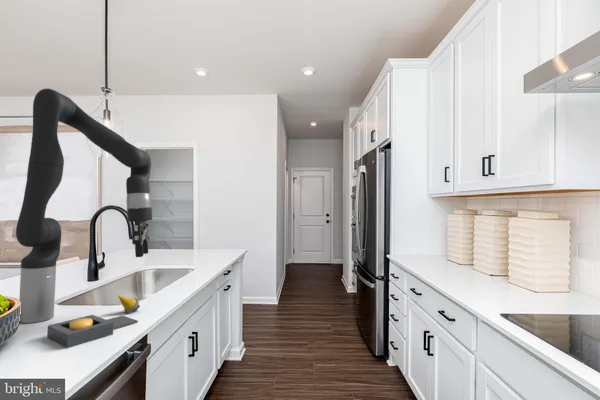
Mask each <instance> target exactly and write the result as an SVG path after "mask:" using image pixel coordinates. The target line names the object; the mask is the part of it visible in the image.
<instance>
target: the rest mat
mask: <svg viewBox="0 0 600 400" xmlns="http://www.w3.org/2000/svg"><path fill="white" fill-rule="evenodd" d="M106 320H108V321H111V322H113V331H114V330H117V329H120V328H124V327H127V326H131V325H134V324H137V323H139V320H136V319H134V318H131V317H128V316H125V315H120V316H115V317H112V318H107V319H106Z"/></svg>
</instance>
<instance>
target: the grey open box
mask: <svg viewBox="0 0 600 400" xmlns="http://www.w3.org/2000/svg"><path fill="white" fill-rule="evenodd" d="M83 318H90V319H93V324H92V326H89V327H85V328H82V329H78V330H74V331H72V330H69V325H70V322H71V321H73V320H77V319H83ZM46 334H47V335H46V338H47V339H49V340H50V341H52V342H55V343H56V344H58V345H59V346H62V347H64V348H66V349H69V348H73V347H76V346H79V345H82V344H86V343H88V342H89V343H90V342H92V341H95V340H99V339H102V338H105V337H108V336H112V335H114V330H113V322H111V321H108V320H107V319H106V318H102V317H100V316H97V315H95V314H90V315H85V316H82V317H77V318H73V319H70V320H69V319H68V320H65V321H61V322H56V323H53V324H49V325H47V333H46Z"/></svg>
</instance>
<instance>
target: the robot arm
mask: <svg viewBox="0 0 600 400" xmlns="http://www.w3.org/2000/svg"><path fill="white" fill-rule="evenodd" d="M32 103H33V104H32V137H31V143H30V153H29V159H28V165H27V172H26V173H27V174H26V183H25V187H24V188H25V189H24V195H23V199H22V200H23V201H22V205H21V208H20V211H19V215H18V219H17V224H16V228H15V229H16V230H15V238H16V240H17V242H18V243H19V244H20V245H21V246H22V247H25V248H32V249H31V250H30V252H29V253H28V254H27V255H25V256H24V257H23V258H22V259H21V260H20V281H19V282H20V283H19V300H20V302H21V314H20V322H19V323H22V324H31V323H32V324H33V323H40V322H44V321H47V320H50V319H53V318H54V315H55V301H56V297H55V296H56V280H57V279H56V277H57V276H56V274H57V273H56V271H57V261H58V259H59V256H60V252H61V242H62V227H61V225H60V223H59V221H57V219H55V218H52V217H46V211H47V206H48V203H49V202H50V199H51V198H52V197H53V195H54V194H55V193H56V190H58V188H59V186H60V184H61V183H62V179H63V175H64V174H63V173H64V167H65V159H64V154H63V151H62V148H61V144H60V141H59V137H58V128H59V126H58V125H59V123H62V124H65V125H66V126H69V127H70V128H71V127H72V128H73V129H75V130H77V131H78V132H81V134H83V135H84V136H85V137H86V138H87V139H88V140H89V141H90V142H91V143H92V144H94V145H95V146H97V147H99V148H100V149H101V150H103V151H104V152H106V153H108V154H109V155H111V156H112V157H113V158H115V160H117V161H118V162H120V163H121V164H122V165H124V166H126V167H127V168H130V176H129V177H127V179H126V181H125V182H126V183H125V184H126V185H125V186H126V187H125V188H126V189H125V190H126V217H127V218H126V219H127V222H128V223H133V222H134V224H133V225H131V237H132V238H131V240H132V241H131V243H132V245H133V246H134V252H135V254H134V255H135V257H136V258H142V257H144V255H146V254H148V253H149V242H150V232H149V223H147V222H149V221H152V220H153V212H152V211H153V209H152V208H153V207H152V197H151V193H150V192H151V190H150V188H151V187H150V176H151V170H152V160H151V159H152V158H151V156H150V154H149V153H148V152H147V151H146V150H144V149H141V148H139V147H136V146H135V145H133V144H131V143H130V142H128V141H127V140H126V139H125V138H124V137H123V136H122V135H120V134H119V133H117V132H116V131H113V130H112V129H111V128H109V127H108V126H106V125H104V124H102V123H100V121H97V120H96V119H94V118H93V116H91V115H89V114H88V113H86V112H85V111H84V110H83V109H82V108H81V107H80V106H79V105H78V104H77V103H75V102H74V101H73V100H72V99H71V98H70V97H69V96H67V95H65V94H62V93H61V92H58V91H57V90H55V89H53V88H43V89H40V90H39V91H38V92H37V93H36V94H35V97H34V99H33V102H32ZM19 300H18V301H19Z"/></svg>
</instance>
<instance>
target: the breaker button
mask: <svg viewBox="0 0 600 400" xmlns="http://www.w3.org/2000/svg"><path fill="white" fill-rule="evenodd" d="M76 319H77V318H76ZM72 320H73V319H72ZM92 324H93V319H90V318H83V319H77V320H73V321H71V322H70V325H69V330H72V331H74V330H78V329H82V328H85V327H89V326H92Z"/></svg>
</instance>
